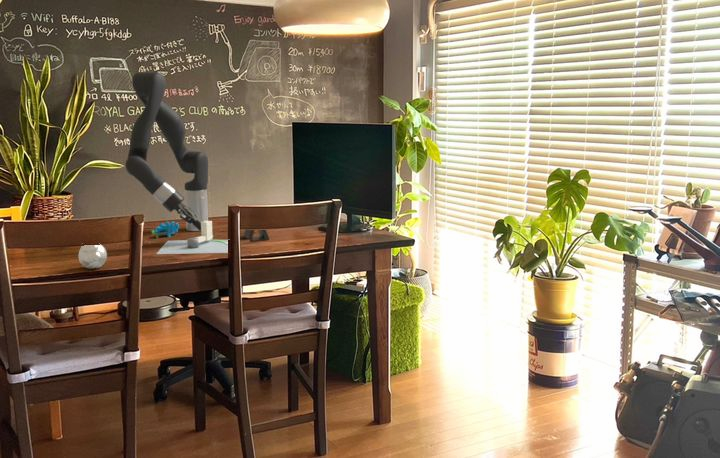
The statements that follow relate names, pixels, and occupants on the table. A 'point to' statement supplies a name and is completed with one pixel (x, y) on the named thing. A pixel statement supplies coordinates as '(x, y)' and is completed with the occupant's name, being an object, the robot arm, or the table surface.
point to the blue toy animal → (166, 229)
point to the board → (204, 247)
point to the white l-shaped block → (205, 235)
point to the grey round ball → (92, 256)
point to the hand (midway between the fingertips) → (202, 228)
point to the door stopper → (263, 236)
